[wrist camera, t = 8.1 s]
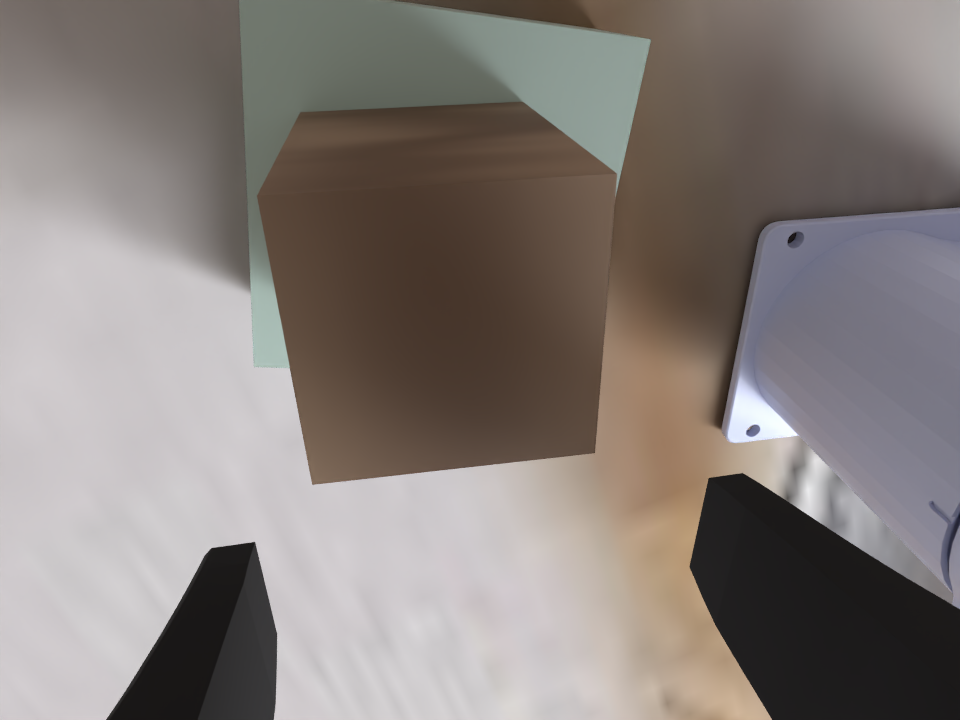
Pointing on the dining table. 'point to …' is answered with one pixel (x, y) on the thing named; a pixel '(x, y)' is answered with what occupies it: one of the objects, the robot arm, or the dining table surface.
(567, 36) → the sage block
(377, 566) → the dining table surface
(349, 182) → the walnut block
